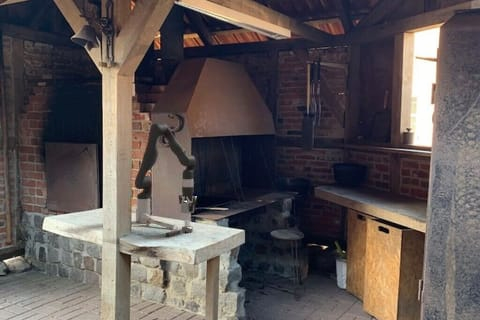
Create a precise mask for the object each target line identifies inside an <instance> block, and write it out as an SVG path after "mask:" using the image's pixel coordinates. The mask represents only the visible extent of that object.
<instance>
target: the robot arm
mask: <svg viewBox="0 0 480 320" xmlns="http://www.w3.org/2000/svg"><path fill="white" fill-rule="evenodd" d="M149 128H150V129H149V133H148V138H147V143H146V147H145V151H144V153H143V157H142V161H141V163H140V167H139V169H138V171H137V174H136V177H135V179H134V186H135V189H137V190H142V191H141V192H140V193H138V194H137V196H136V208H135V222H136V223H139V224H143V223H142V221H145V217H144V216H143V217H141V215H142V214H145V213H146V214H148V215H149V216H150V217H151V196H152V186H153V183H152V182H153V181H152V180H153V179H152V178H151V176H149V175H147V173H148V172H149V171H150V170H151V169H152V168H153V167H154V165H155V164H156V162H157V159H158V155H159V152H158V148H157V142H158V139H159V138H161V137H163V138H164V139H166V140H167V143H168V146H169V149H170V150H171V152H172V153H173V154H174V155H175V156H176V158H177V160H178V162H179V163H180V164H181V166H183V167H186V168H185V169H184V170H182V181H181V193H182V194H178V203H179V205H181V203H182V202H188V203H190V212H193V206H194V207H195V206H197V199H198V197H197V196H194V192H195V191H194V184H195V181H194V172H195V169H196V165H197V160H196V157H195V156H194V155H192V154H191V155H187V154H186V153H187V151H186V149H185V148H184V147H183V145H182V144H181V143H179V141H178V140H177V139H176V137H175V135H174V134H173V133H172V131H171V129H170V128H169V126H168V125H167V124H166V123H164V122H157V123H156V122H155V123H153V124H152V125H151V126H150V127H149ZM191 203H192V204H191ZM193 213H194V212H193Z"/></svg>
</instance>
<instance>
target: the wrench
mask: <svg viewBox="0 0 480 320" xmlns="http://www.w3.org/2000/svg"><path fill="white" fill-rule="evenodd" d="M143 216H144V217H145V221H142V223H141V224H143V225H146V227H149V226H150V225H151V224H154V225H156V226H160V227H162V228H167V229H170V230H173V231H175V230H179V229H178V228H179V226H178V225H177V224H173V223H169V222H165V221H162V220H158V219H154V218H153V217H152V216H151V215H150V216H149V215H148V214H146V213H145V214H142V215H141V217H143Z"/></svg>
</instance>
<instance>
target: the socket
mask: <svg viewBox="0 0 480 320" xmlns="http://www.w3.org/2000/svg"><path fill="white" fill-rule="evenodd" d="M191 204H192V203H191ZM194 212H195V206H193V212H190V203H188V202H182V203H181V204H180V213H182V214H193V213H194Z"/></svg>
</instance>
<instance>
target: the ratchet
mask: <svg viewBox="0 0 480 320" xmlns="http://www.w3.org/2000/svg"><path fill="white" fill-rule="evenodd" d="M193 229H194V228H193V226H192V225H191V219H190V220H189V219H185V220H184V226H182V227H181V228H180V229H176V230H171V231H168V232H167V231H166V232H165V238H166V237H167V238H173V237H177V236H178V235H179V236H180V235H183V234H190V233H193Z"/></svg>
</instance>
